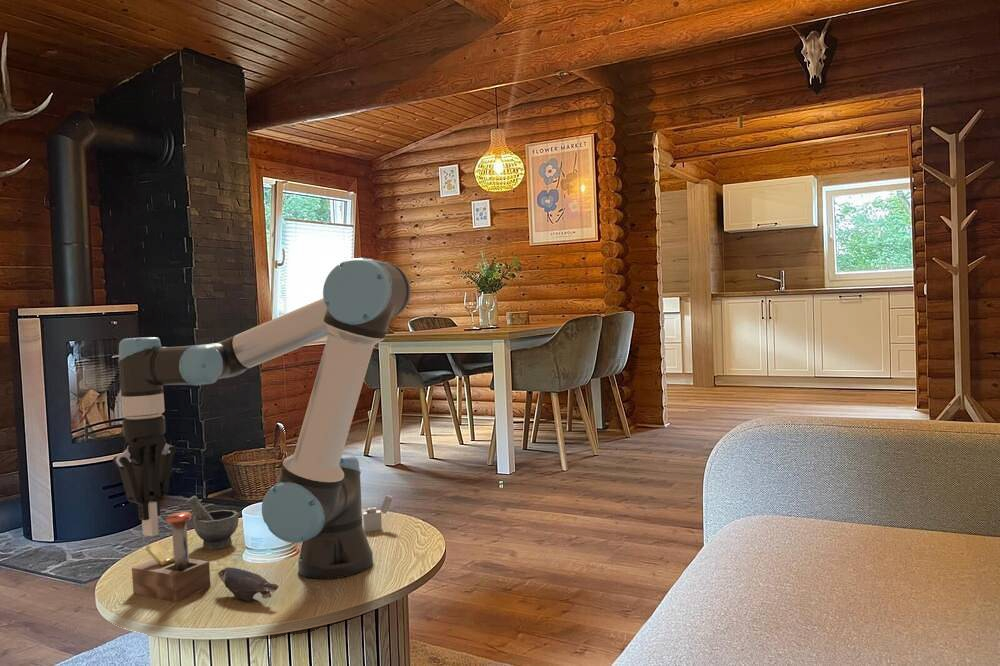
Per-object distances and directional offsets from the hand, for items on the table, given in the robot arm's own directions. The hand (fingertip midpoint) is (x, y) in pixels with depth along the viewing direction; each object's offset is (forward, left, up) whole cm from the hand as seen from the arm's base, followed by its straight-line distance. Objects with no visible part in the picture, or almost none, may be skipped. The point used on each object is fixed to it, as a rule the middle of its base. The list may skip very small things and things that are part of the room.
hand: (150, 534), depth 151 cm
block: (-5, 0, -10) cm, 12 cm away
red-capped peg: (-8, 0, -10) cm, 13 cm away
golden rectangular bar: (-2, 0, -4) cm, 5 cm away
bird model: (-23, -2, -11) cm, 25 cm away
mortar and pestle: (+9, -24, -11) cm, 28 cm away
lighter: (-21, -47, -11) cm, 52 cm away
